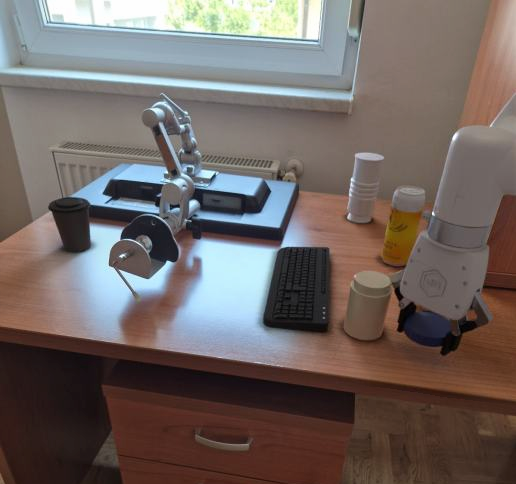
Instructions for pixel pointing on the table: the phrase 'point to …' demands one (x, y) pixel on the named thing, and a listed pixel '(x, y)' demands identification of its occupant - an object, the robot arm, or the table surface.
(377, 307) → the jar
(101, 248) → the table surface
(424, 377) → the table surface
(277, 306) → the keyboard
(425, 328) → the lid
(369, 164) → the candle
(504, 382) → the table surface
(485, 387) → the table surface
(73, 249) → the coffee cup
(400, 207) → the yellow bottle
